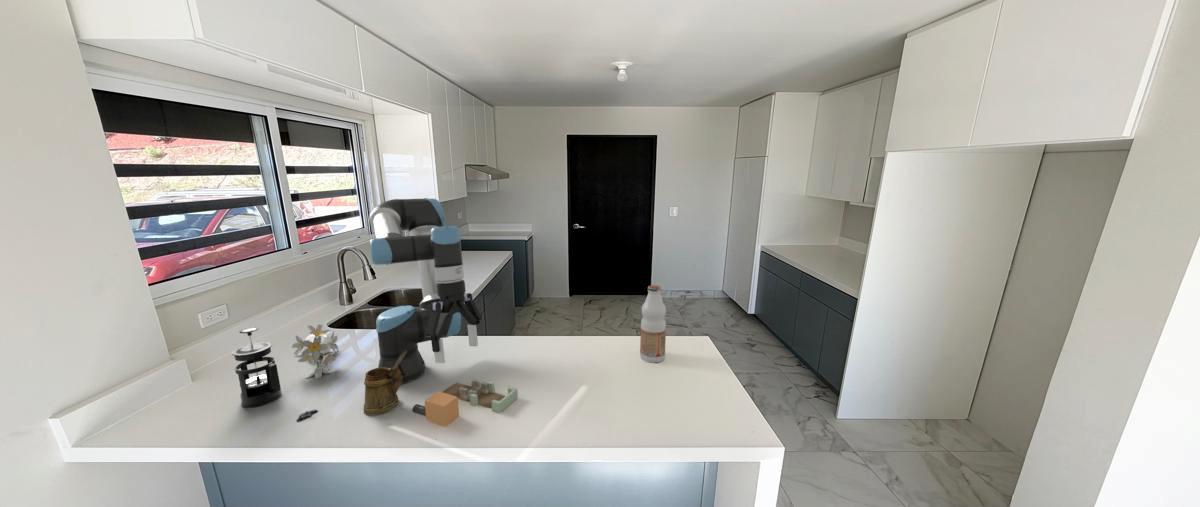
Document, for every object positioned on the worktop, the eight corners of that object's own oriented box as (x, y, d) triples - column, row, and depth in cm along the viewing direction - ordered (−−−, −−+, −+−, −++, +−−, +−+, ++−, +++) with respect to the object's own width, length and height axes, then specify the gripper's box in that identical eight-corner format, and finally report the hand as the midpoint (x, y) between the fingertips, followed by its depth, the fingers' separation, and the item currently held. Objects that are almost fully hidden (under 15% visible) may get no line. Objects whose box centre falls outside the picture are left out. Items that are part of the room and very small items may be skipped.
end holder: (470, 404, 112) (469, 395, 112) (489, 389, 120) (489, 381, 119) (499, 413, 108) (499, 403, 107) (517, 397, 116) (517, 388, 115)
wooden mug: (405, 414, 109) (399, 356, 106) (357, 416, 108) (349, 358, 105) (418, 396, 118) (412, 343, 114) (373, 398, 117) (366, 344, 114)
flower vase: (309, 373, 146) (302, 385, 125) (292, 328, 144) (282, 334, 123) (348, 358, 153) (347, 367, 132) (332, 315, 151) (329, 318, 130)
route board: (440, 396, 118) (438, 383, 117) (456, 385, 124) (455, 373, 124) (502, 414, 109) (501, 401, 108) (516, 402, 115) (516, 389, 114)
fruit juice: (644, 364, 138) (646, 291, 133) (636, 353, 147) (638, 284, 142) (668, 361, 140) (671, 289, 135) (659, 350, 149) (661, 282, 144)
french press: (230, 406, 113) (215, 334, 108) (262, 389, 122) (249, 322, 118) (264, 409, 111) (250, 336, 107) (294, 392, 120) (282, 324, 116)
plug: (408, 416, 108) (406, 394, 106) (423, 407, 112) (420, 386, 111) (445, 429, 102) (443, 406, 101) (459, 419, 107) (457, 396, 105)
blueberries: (329, 412, 111) (329, 406, 111) (302, 428, 103) (302, 421, 103) (311, 410, 113) (310, 404, 112) (283, 424, 105) (282, 418, 105)
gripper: (425, 289, 94) (434, 371, 95) (489, 273, 117) (495, 340, 119) (403, 289, 96) (412, 369, 98) (469, 274, 120) (476, 339, 121)
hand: (458, 353), depth 108 cm, fingers open, 13 cm apart
